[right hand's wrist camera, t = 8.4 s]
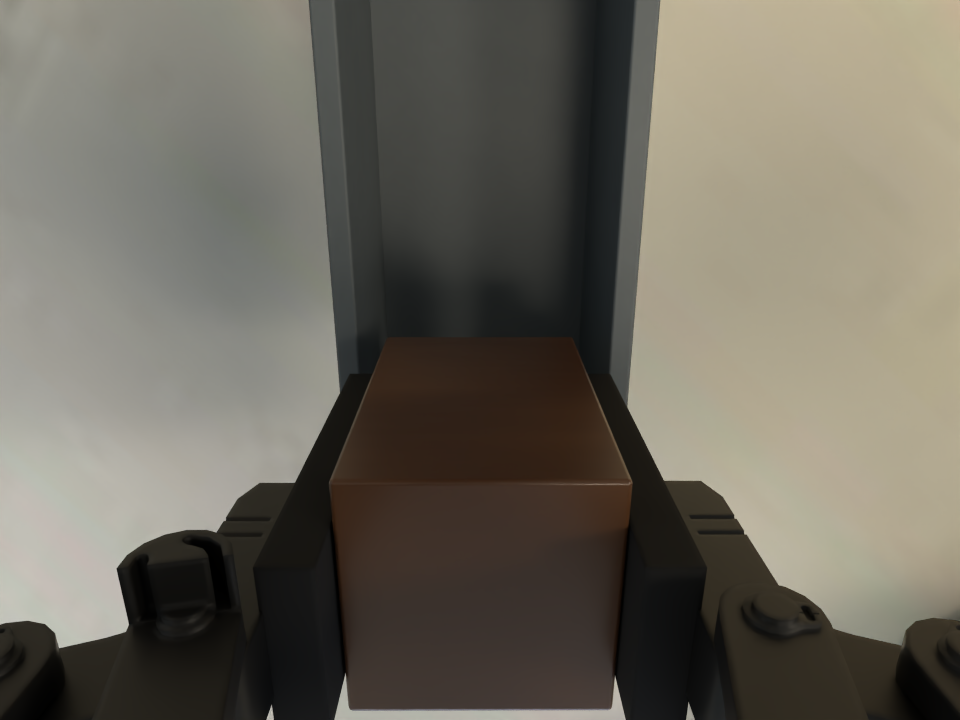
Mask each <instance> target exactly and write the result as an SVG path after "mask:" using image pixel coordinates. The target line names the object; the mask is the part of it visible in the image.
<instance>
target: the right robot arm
mask: <svg viewBox="0 0 960 720" xmlns="http://www.w3.org/2000/svg"><path fill="white" fill-rule="evenodd" d="M371 377H372V374H349V376H348V378H347V380H346V382H345V384H344V386H343V388H342V390H341V392H340V394H339V396H338V398H337V400H336V402H335V404H334V406H333V408H332V410H331V412H330V414H329V416H328V418H327V420H326V422H325V424H324V426H323V428H322V430H321V432H320V434H319V436H318V438H317V440H316V442H315V444H314V446H313V448H312V450H311V452H310V454H309V456H308V458H307V460H306V462H305V464H304V466H303V468H302V470H301V472H300V474H299V476H298V478H297V480H296V482H295V483H259V484H258V485H256V486H255V487H254V488H252V489H251V490H249V491H248V492H247V493H245V494H244V495H243V496H241V497H240V498H238V499H237V501H236V503H235V504H234V506H233V507H232V509H231V511H230V512H229V514H228V515H227V517H226V521H224V522H223V523H222V525H221V526H220V528H219V530H218V531H217V533H215V532H212V531H208V530H185V531H180V532H176V533H171V534H166V535H163V536H161V537H158V538H156V539H154V540H151V541H149V542H146V543H144V544H143V545H141V546H140V547H138V548H137V549H135V550H134V551H132V552H131V553H130V554H128V555H127V556H126V557H125V559H124V560H123V561H122V562H121V564H120V565H119V566H118V568H117V573H118V577H119V581H120V586H121V590H122V595H123V599H124V604H125V608H126V612H127V617H128V621H129V626H128V629H127V631H126V632H125V633H121V634H118V635H114V636H111V637H108V638H104V639H99V640H95V641H90V642H86V643H81V644H77V645H72V646H68V647H63V648H59V647H58V643H57V639H56V636H55V633H54V632H53V631H52V630H51V629H50V628H49V627H47V626H46V625H45V624H41V623H36V622H31V621H22V622H13V623H4V624H1V625H0V720H266V719H267V716H268V713H269V710H270V707H271V705H272V708H273V715H274V720H334V718H335V714H336V710H337V706H338V701H339V697H340V693H341V689H342V685H343V681H344V677H345V672H346V671H345V659H344V648H343V637H342V625H341V614H340V603H339V592H338V580H337V569H336V558H335V547H334V535H333V524H332V513H331V501H330V490H329V481H330V479H331V476H332V474H333V471H334V469H335V466H336V464H337V461H338V459H339V456H340V454H341V451H342V449H343V446H344V444H345V441H346V439H347V436H348V434H349V431H350V429H351V426H352V424H353V421H354V419H355V416H356V414H357V411H358V409H359V407H360V404H361V402H362V399H363V397H364V394H365V392H366V389H367V387H368V384H369V382H370V379H371ZM588 377H589V379H590V382H591V384H592V386H593V389H594V391H595V394H596V396H597V398H598V401H599V403H600V406H601V408H602V410H603V413H604V415H605V418H606V420H607V422H608V425H609V427H610V430H611V432H612V434H613V437H614V439H615V441H616V444H617V446H618V449H619V451H620V453H621V456H622V458H623V461H624V463H625V465H626V468H627V470H628V473H629V475H630V477H631V480H632V482H633V484H632V495H631V506H630V517H629V528H628V539H627V550H626V560H625V571H624V582H623V593H622V604H621V615H620V625H619V636H618V647H617V658H616V669H615V676H616V681H617V685H618V689H619V693H620V697H621V701H622V706H623V710H624V714H625V718H626V720H686V715H687V708H688V701H689V704H690V707H691V710H692V713H693V715H694V718H695V720H960V622H959V621H956V620H947V619H938V618H931V619H926V620H920V621H916V622H915V623H913V624H912V625H911V626H910V627H909V628H908V629H907V630H906V632H905V636H904V640H903V643H902V646H900V645H896V644H891V643H887V642H883V641H878V640H874V639H869V638H865V637H860V636H856V635H852V634H849V633H845V632H842V631H838V630H835V629H833V628H832V625H831V623H830V621H829V620H828V619H827V617H826V616H825V614H824V613H823V611H822V610H821V609H820V608H819V607H818V606H817V605H815V604H814V603H813V602H812V601H810V600H809V599H808V598H806V597H805V596H803V595H801V594H799V593H797V592H795V591H793V590H791V589H788V588H786V587H783V586H779V585H778V584H777V582H776V580H775V579H774V577H773V576H772V574H771V573H770V571H769V569H768V568H767V566H766V565H765V563H764V562H763V560H762V558H761V557H760V555H759V554H758V552H757V550H756V549H755V547H754V546H753V544H752V543H751V541H750V539H749V538H748V536H747V535H744V530H743V528H742V527H741V525H740V524H739V522H738V520H737V519H734V514H733V513H732V511H731V509H730V508H729V506H728V505H727V503H726V502H725V500H724V498H723V497H722V496H721V495H719V494H718V493H717V492H715V491H714V490H712V489H711V488H710V487H708V486H707V485H706V484H704V483H703V482H701V481H664V480H663V478H662V476H661V474H660V472H659V470H658V468H657V466H656V464H655V462H654V460H653V458H652V456H651V454H650V452H649V450H648V448H647V446H646V444H645V442H644V440H643V438H642V436H641V434H640V432H639V430H638V428H637V426H636V424H635V422H634V420H633V418H632V416H631V414H630V412H629V410H628V408H627V406H626V404H625V402H624V400H623V398H622V396H621V394H620V392H619V390H618V388H617V386H616V384H615V382H614V380H613V378H612V376H611V374H588Z"/></svg>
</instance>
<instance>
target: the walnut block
mask: <svg viewBox="0 0 960 720" xmlns="http://www.w3.org/2000/svg"><path fill="white" fill-rule="evenodd" d="M632 484H633V482H632V480H631V477H630V475H629V473H628V470H627V468H626V465H625V463H624V461H623V458H622V456H621V453H620V451H619V449H618V446H617V444H616V441H615V439H614V437H613V434H612V432H611V430H610V427H609V425H608V422H607V420H606V418H605V415H604V413H603V410H602V408H601V406H600V403H599V401H598V398H597V396H596V394H595V391H594V389H593V386H592V384H591V382H590V379H589V377H588V374H587V372H586V370H585V367H584V365H583V362H582V360H581V358H580V355H579V353H578V350H577V348H576V346H575V343H574V341H573V338H571V337H388V338H387V339H386V342H385V344H384V347H383V349H382V352H381V354H380V357H379V359H378V362H377V364H376V367H375V369H374V372H373V374H372V377H371V379H370V382H369V384H368V387H367V389H366V392H365V394H364V397H363V399H362V402H361V404H360V407H359V409H358V411H357V414H356V416H355V419H354V421H353V424H352V426H351V429H350V431H349V434H348V436H347V439H346V441H345V444H344V446H343V449H342V451H341V454H340V456H339V459H338V461H337V464H336V466H335V469H334V471H333V474H332V476H331V479H330V481H329V490H330V501H331V513H332V524H333V535H334V547H335V558H336V569H337V580H338V592H339V603H340V614H341V625H342V637H343V648H344V659H345V671H346V682H347V693H348V704H349V708H350V710H353V711H355V710H609V709H611V707H612V701H613V691H614V680H615V669H616V658H617V647H618V636H619V625H620V615H621V604H622V593H623V582H624V571H625V560H626V550H627V539H628V528H629V517H630V506H631V495H632Z"/></svg>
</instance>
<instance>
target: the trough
mask: <svg viewBox="0 0 960 720" xmlns="http://www.w3.org/2000/svg"><path fill="white" fill-rule="evenodd" d="M309 9H310V22H311V34H312V47H313V59H314V72H315V84H316V97H317V109H318V122H319V134H320V147H321V159H322V172H323V184H324V197H325V209H326V222H327V234H328V247H329V259H330V272H331V284H332V297H333V309H334V322H335V334H336V347H337V359H338V372H339V384H340V392H341V390H342V388H343V386H344V384H345V382H346V380H347V378H348V376H349V374H373V372H374V369H375V367H376V364H377V362H378V359H379V357H380V354H381V352H382V349H383V347H384V344H385V342H386V339H387V338H388V337H571V338H573V341H574V343H575V346H576V348H577V350H578V353H579V355H580V358H581V360H582V362H583V365H584V367H585V370H586V372H587V374H611V376H612V378H613V380H614V382H615V384H616V386H617V388H618V390H619V392H620V394H621V396H622V398H623V400H624V402H625V404H626V406H627V402H628V390H629V378H630V365H631V353H632V341H633V328H634V316H635V304H636V292H637V279H638V267H639V255H640V243H641V230H642V218H643V206H644V194H645V181H646V169H647V157H648V144H649V132H650V120H651V108H652V95H653V83H654V71H655V59H656V46H657V34H658V22H659V9H660V0H309Z"/></svg>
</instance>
